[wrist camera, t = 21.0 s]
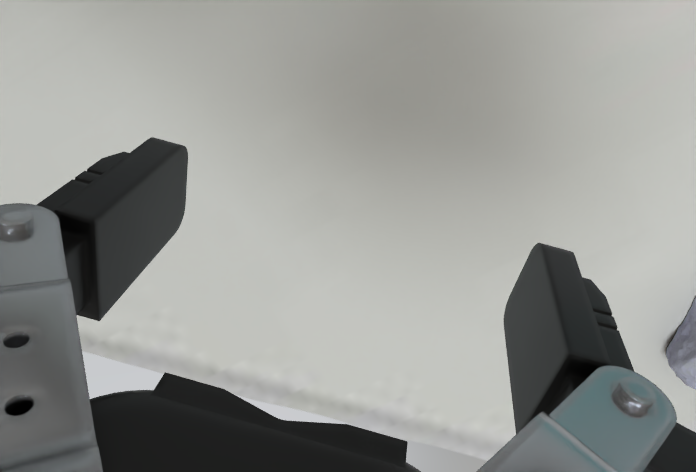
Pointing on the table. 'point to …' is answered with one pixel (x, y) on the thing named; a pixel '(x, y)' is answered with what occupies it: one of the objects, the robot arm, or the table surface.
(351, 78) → the table surface
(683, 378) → the stone block
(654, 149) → the table surface
